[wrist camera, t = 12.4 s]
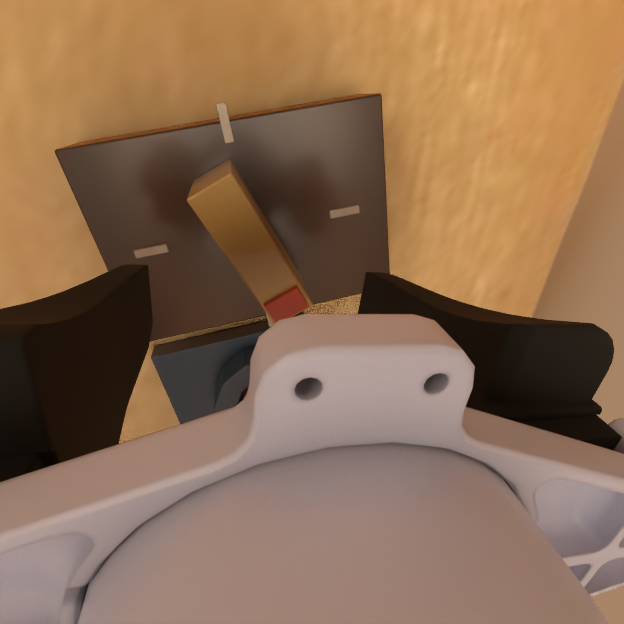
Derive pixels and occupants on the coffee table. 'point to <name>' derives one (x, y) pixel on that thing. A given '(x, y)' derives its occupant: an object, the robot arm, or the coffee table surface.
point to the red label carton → (248, 241)
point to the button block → (208, 370)
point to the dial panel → (265, 190)
